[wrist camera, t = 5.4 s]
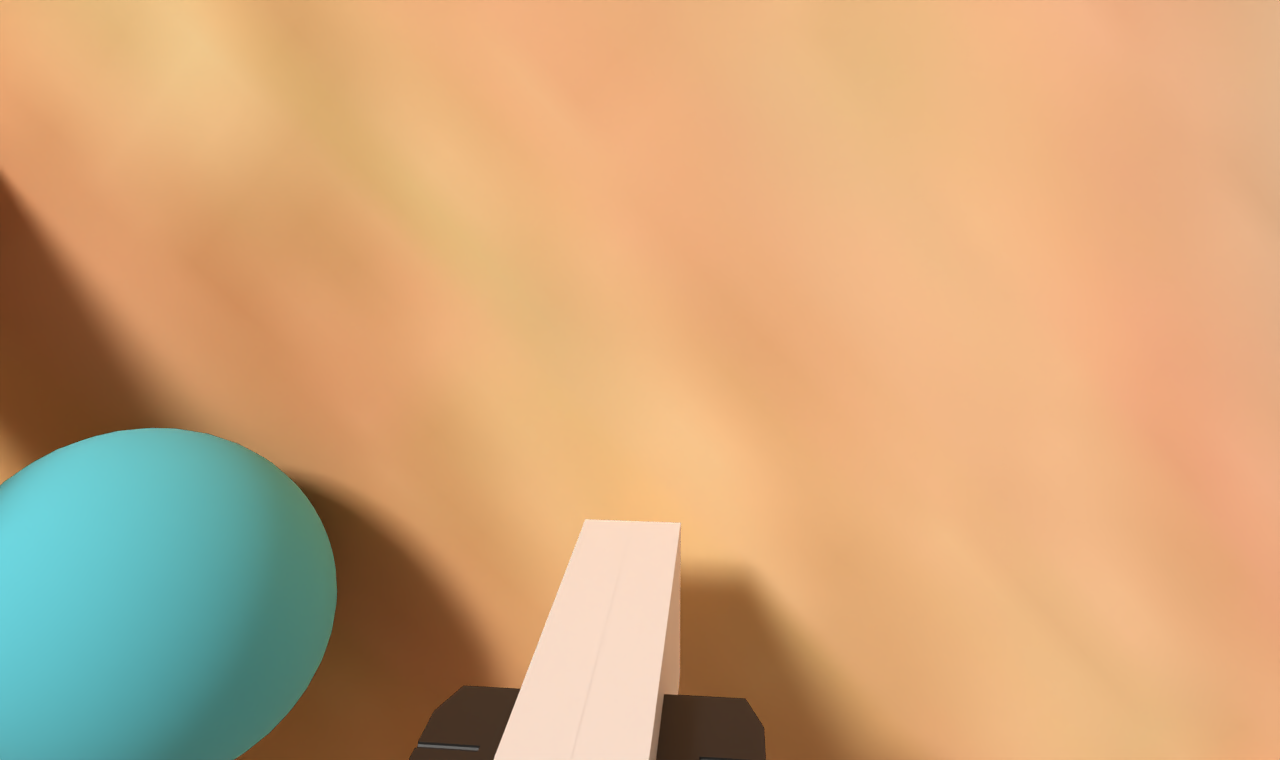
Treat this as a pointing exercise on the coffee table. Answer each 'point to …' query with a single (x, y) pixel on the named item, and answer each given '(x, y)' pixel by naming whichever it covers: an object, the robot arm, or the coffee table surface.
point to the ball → (156, 599)
